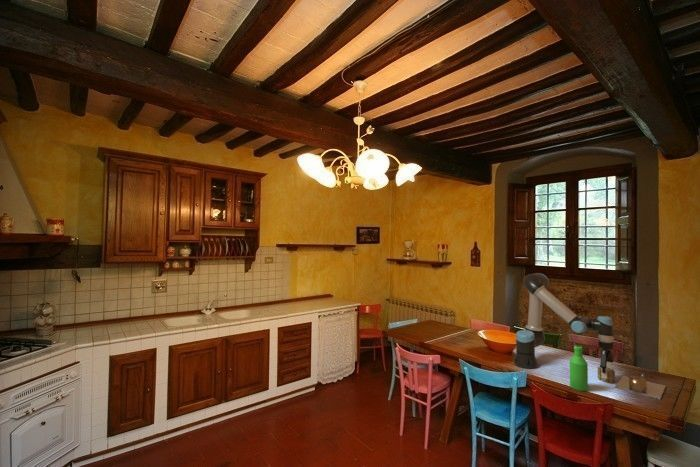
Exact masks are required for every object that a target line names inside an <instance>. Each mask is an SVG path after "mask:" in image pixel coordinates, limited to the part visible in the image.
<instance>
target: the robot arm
mask: <svg viewBox="0 0 700 467" xmlns="http://www.w3.org/2000/svg"><path fill="white" fill-rule="evenodd" d="M522 282H523V283H522V284H523V286H524V287H525V289H526V290H527V292H528V293H529V297H528V298H529V301H528V302H529V303H528V313H527V315H528V316H527V324H526V325H525V328H524V329H523V330H522V329H521V330H518V331H517V332H516V334H515V345H516V346H515V350H516V351H515V356H514V358H513V364H514V366H516V365H517V367H518V366H519V367H518V368H521V367H522V369H527V370H534V369H537V368H538V367H539V364H538V361H537V358H536V356H535V355H536V353H535V352H536V351H535V350H536V348H537V347H540V346H541V345H543V343H544V342H545V340H546V336H545V333H544V328H542V317H543V303H544V304H545V305H546V306H547V307H548V308H550V309H551V310H552V311H553V312H554V313H556V314H557V315H558V316H559V317H560V318H561V319H562V320H563V321H564V322H566V323H567V324H568V325H569V326H570V328H571V330H572V331H573V333H576V334H582V333H585V332H587V331H589V330H592V331H597V332H598V333H597V335H598V336H597V337H598V338H597V339H598V341H597V343H598V347H599V348H602V349H601V350H600V364H599V367H601V377H602V378H606V379H607V368H606V367H608V368H610V369H613V363H614V359H613V355H612V350H614V348H615V347H614V340H615V337H614V330H613V329H614V323H613V318H612V317H610V316H607V315H598V316H597V318H593V317H586V316H579V315H577V314H576V313H574V312H573V310H571V309H570V308H569V307H567V306H566V305H565V304H564V303H563V302H562V301H561V300H559V299H558V298H557V297H556V296H555V295H553V294H552V293H551V292H550V291H549V290H547V287H548V286H549V282H550V281H549V278H548V277H547V276H546V275H545V273H544V274H543V273H541V272H535V273H529V274H527V275H525V276H524V277H523V280H522Z"/></svg>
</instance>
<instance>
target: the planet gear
mask: <svg viewBox="0 0 700 467" xmlns="http://www.w3.org/2000/svg"><path fill="white" fill-rule="evenodd" d="M606 368H607V379H606V378H602V377H601V367H600V366H597V379H598V380H599V381H602V382H603V383H609V384H613V383H616V370H615V369H613V368H612V369H610V368H608V367H607V366H606Z"/></svg>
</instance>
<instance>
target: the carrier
mask: <svg viewBox="0 0 700 467" xmlns="http://www.w3.org/2000/svg"><path fill="white" fill-rule="evenodd" d="M645 375H646V374H645V373H643V372H640V376H638V375H629V376H627V375H622V376H621V378H619V381H618V382H617V383H616V384H615V386H614V388H616V389H620V390H623V391H627V392H630V391H631V392H630V393H634V394H637V393H638V395H641V394H642V396H645V397H649V396H650V397H649V398H652V397H653V398H654V399H656V398H657V400H661V399H662V397H663V394H664V392H665V391H666V385H664V384H659V383H655V382H652V381H647V379H646V378H645V377H646V376H645Z"/></svg>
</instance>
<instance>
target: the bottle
mask: <svg viewBox="0 0 700 467" xmlns="http://www.w3.org/2000/svg"><path fill="white" fill-rule="evenodd" d="M573 349H574V355H573V356H572V357H571V358H570V359H569V386H570V387H571V388H572V389H574V390H576V391H580V392H585V391H587V390H588V389H589V383H588V382H589V374H588V373H589V372H588V371H589V368H588V365H589V364H588V362H587V361H586V359H585V358H584V357H583V350H584V348H583V346H581V345H574V346H573Z"/></svg>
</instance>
